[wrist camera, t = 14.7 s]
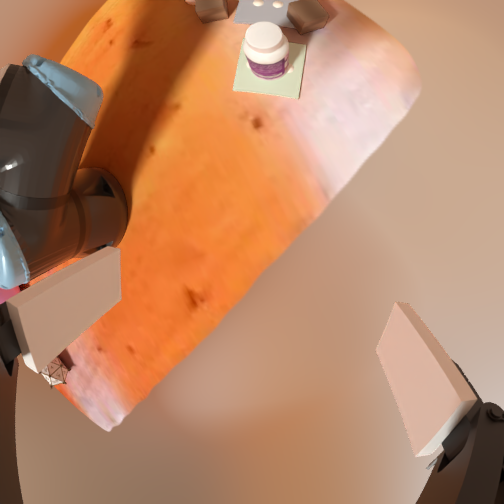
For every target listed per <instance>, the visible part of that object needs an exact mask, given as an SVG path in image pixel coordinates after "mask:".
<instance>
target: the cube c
mask: <svg viewBox="0 0 504 504" xmlns="http://www.w3.org/2000/svg"><path fill="white" fill-rule="evenodd" d="M286 16H287V18H288V19H289V20H290V21H291V23H292V24H293V25H294V27H295V28H296V29H297V31H298V32H299V34H300V35H301V34H304V33H307V32H310V31H314V30H317V29H321V28H324V26H325V24H326V22H327V20H328V18H329V14H328V13H327V12H326V11H325V9H324V8H323V7H322V6H321V4H320V3H319V2H318V1H317V0H298V1H294V2H290V3H289V5H288V10H287V15H286Z"/></svg>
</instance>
